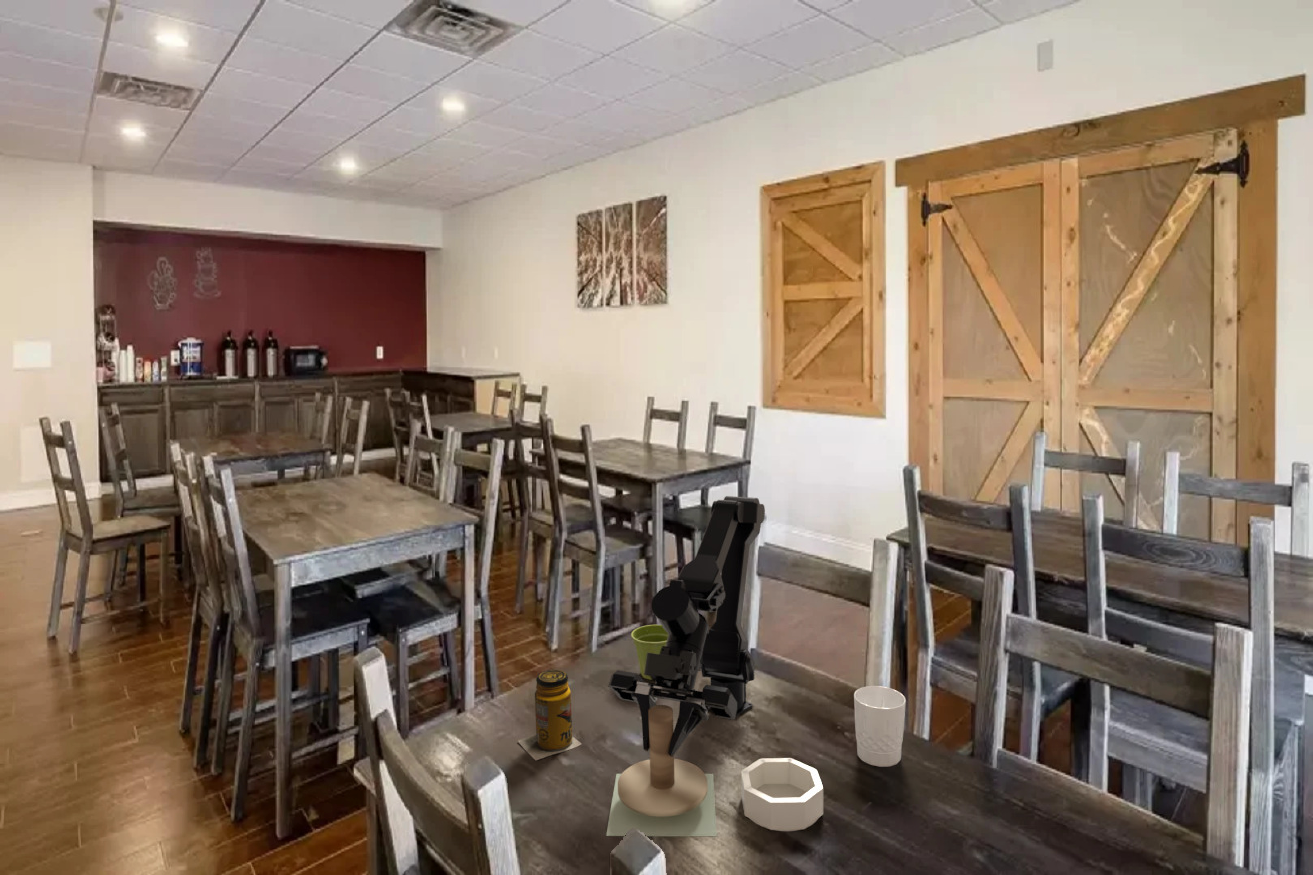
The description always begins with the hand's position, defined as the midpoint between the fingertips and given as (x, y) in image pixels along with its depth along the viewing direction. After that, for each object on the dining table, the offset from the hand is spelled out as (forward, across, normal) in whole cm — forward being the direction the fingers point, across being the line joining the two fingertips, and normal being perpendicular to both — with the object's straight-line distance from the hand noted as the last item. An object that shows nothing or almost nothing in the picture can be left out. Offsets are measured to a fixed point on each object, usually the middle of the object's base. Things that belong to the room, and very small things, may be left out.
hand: (657, 753), depth 110 cm
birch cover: (+4, 0, +5) cm, 6 cm away
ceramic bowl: (+2, +16, +11) cm, 20 cm away
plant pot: (-23, -18, +36) cm, 46 cm away
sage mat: (+5, 0, +7) cm, 9 cm away
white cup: (-12, +27, +25) cm, 39 cm away
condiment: (-1, -24, +14) cm, 28 cm away
